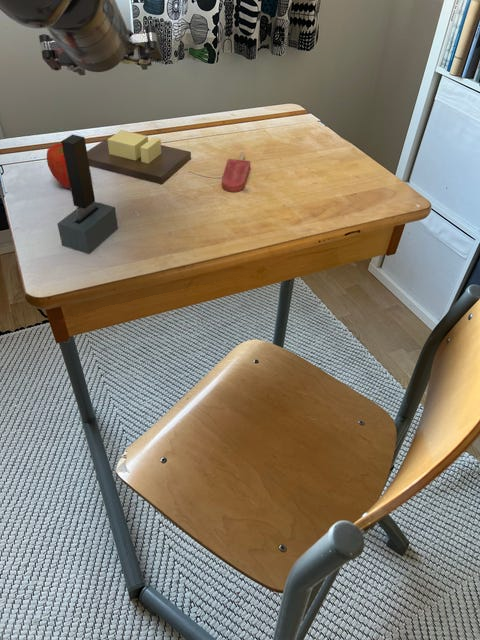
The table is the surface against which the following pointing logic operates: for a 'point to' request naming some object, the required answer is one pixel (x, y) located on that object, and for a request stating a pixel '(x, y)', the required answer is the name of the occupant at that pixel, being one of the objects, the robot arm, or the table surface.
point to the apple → (58, 165)
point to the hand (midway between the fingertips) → (112, 64)
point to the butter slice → (150, 150)
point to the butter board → (139, 163)
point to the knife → (79, 176)
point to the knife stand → (88, 228)
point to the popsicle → (235, 174)
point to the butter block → (126, 144)
